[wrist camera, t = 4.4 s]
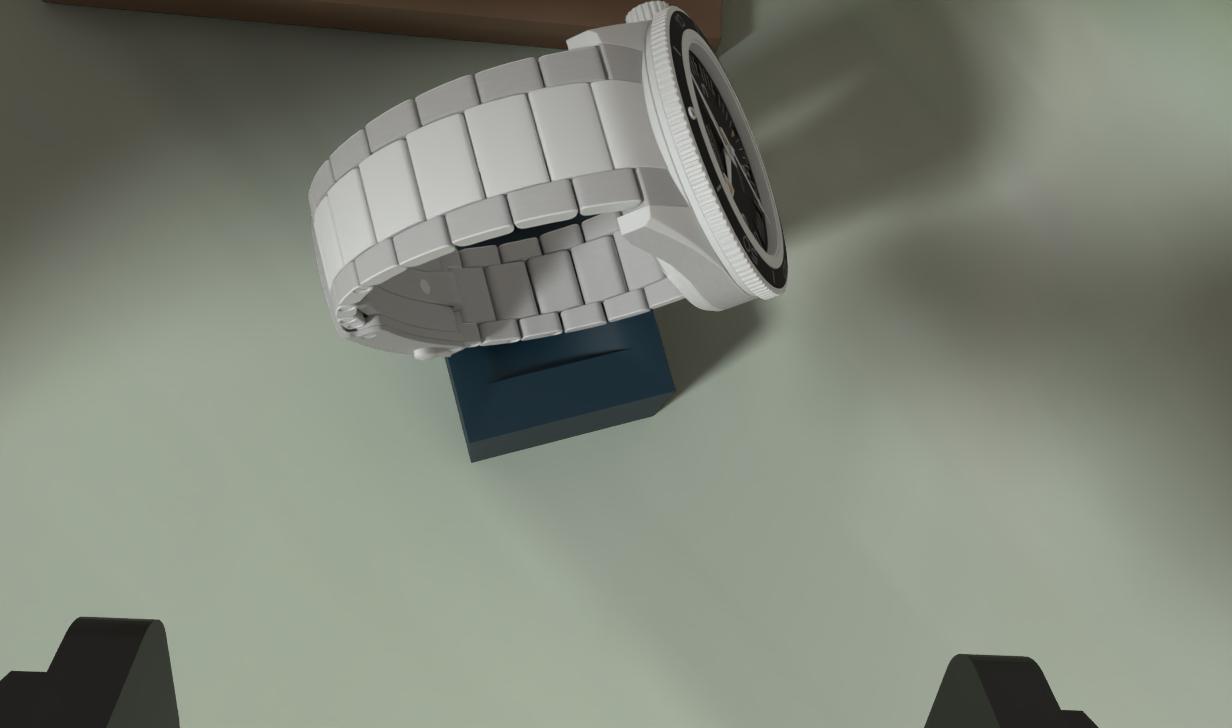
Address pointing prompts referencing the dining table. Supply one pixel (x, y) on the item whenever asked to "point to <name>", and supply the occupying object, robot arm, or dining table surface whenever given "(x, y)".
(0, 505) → the dining table surface
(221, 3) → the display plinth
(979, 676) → the robot arm
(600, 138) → the watch
